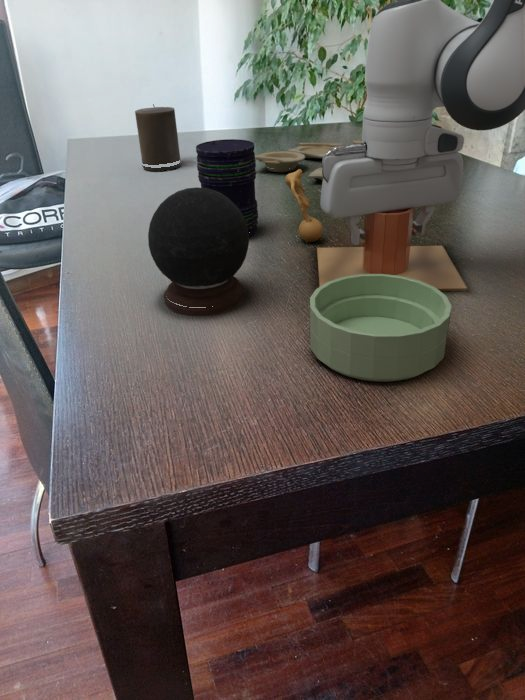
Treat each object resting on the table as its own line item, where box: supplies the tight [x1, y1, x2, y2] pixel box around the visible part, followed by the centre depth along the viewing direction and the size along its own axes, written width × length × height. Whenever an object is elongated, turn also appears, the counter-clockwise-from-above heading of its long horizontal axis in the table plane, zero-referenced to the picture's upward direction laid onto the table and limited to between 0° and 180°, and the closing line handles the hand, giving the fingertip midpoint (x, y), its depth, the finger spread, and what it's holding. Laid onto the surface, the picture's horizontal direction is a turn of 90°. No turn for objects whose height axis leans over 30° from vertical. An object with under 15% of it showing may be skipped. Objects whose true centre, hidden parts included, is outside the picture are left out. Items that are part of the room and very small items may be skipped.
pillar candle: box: [134, 104, 182, 172], centre depth 142 cm, size 10×10×15 cm
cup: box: [362, 208, 415, 275], centre depth 83 cm, size 7×7×9 cm
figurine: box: [285, 168, 323, 243], centre depth 93 cm, size 8×6×12 cm
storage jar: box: [195, 138, 259, 240], centre depth 97 cm, size 10×10×15 cm
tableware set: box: [255, 139, 362, 181], centre depth 139 cm, size 35×29×4 cm
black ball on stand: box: [147, 187, 250, 317], centre depth 75 cm, size 13×13×15 cm
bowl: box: [309, 274, 452, 383], centre depth 64 cm, size 15×15×6 cm
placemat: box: [316, 245, 468, 292], centre depth 85 cm, size 20×16×1 cm
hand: (387, 238), depth 83 cm, fingers open, 8 cm apart
